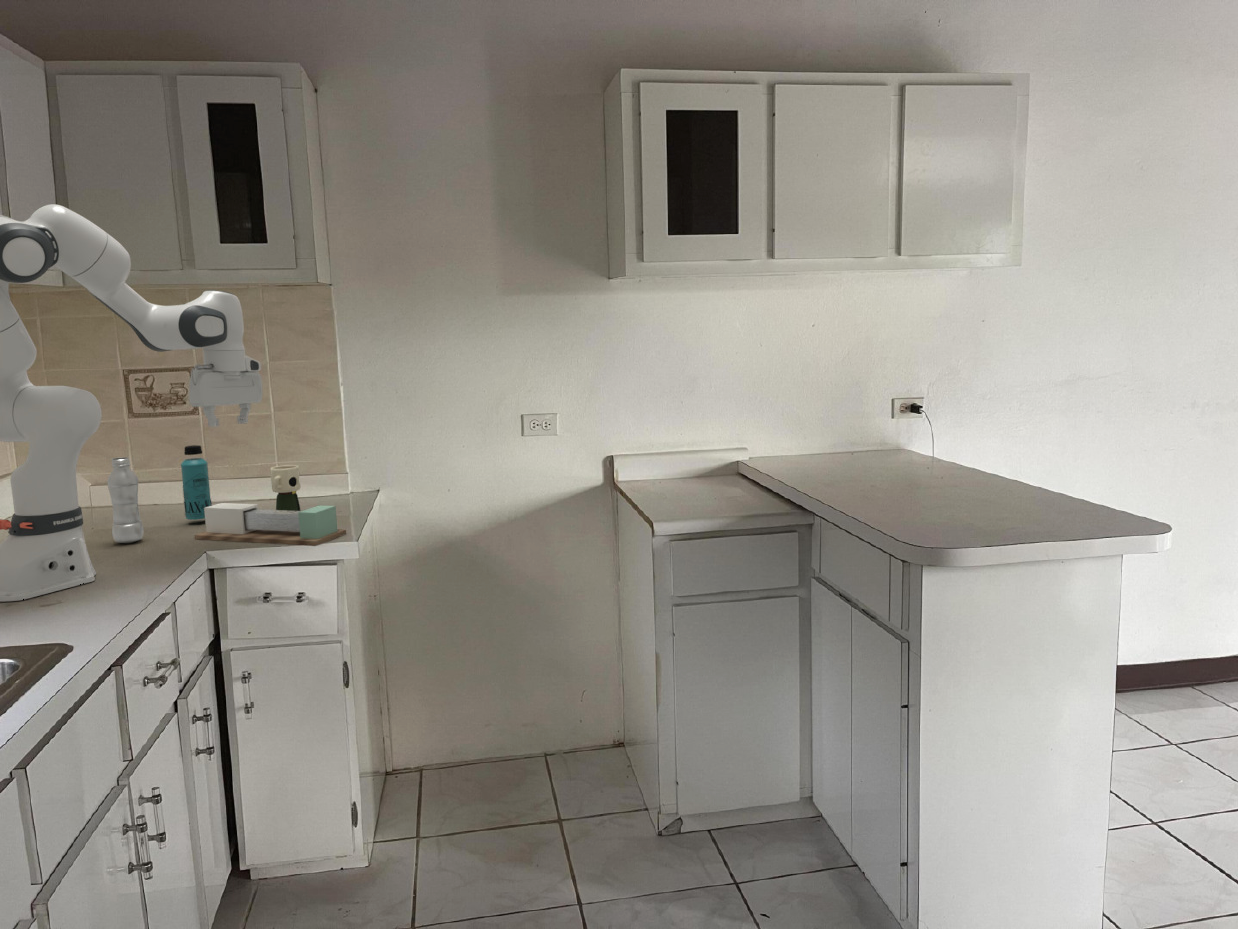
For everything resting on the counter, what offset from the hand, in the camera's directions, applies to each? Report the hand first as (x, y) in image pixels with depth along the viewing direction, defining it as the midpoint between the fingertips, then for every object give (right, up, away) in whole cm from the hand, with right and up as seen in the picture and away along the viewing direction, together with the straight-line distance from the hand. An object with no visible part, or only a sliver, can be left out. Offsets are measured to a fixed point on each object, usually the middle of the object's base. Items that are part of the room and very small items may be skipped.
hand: (228, 425), depth 215 cm
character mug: (+2, -23, +34) cm, 41 cm away
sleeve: (-4, -25, +12) cm, 28 cm away
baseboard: (+6, -26, +9) cm, 28 cm away
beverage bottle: (-19, -24, +28) cm, 41 cm away
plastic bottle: (-26, -28, +7) cm, 39 cm away
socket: (+19, -25, +5) cm, 32 cm away
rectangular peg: (+10, -24, +8) cm, 27 cm away
